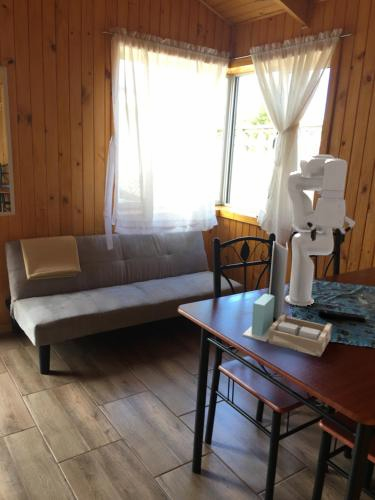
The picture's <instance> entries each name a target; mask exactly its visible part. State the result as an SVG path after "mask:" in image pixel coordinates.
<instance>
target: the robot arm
mask: <svg viewBox="0 0 375 500" xmlns="http://www.w3.org/2000/svg"><path fill="white" fill-rule="evenodd" d="M299 166H300V167H299V168H300V171H299V170H298V171H293V172H291V173H290V174H289V175H288V176H287V184H286V186H287V192H288V195H289V198H290V201H291V203H292V213H293V215H292V216H293V226H294V229H295V230H296V231H298V233H296V234H294V235H293V236H292V239H291V251H292V255H291V256H292V257H291V259H292V260H291V269H290V270H291V271H290V281H289V282H290V283H289V293H288V295H286V296H284V300H285V302H286V303H287V304H289V305H293V306H296V305H297V307H308V306H307V305H310V306H312V305H311V304H313V303H315V300H314V298H313V297H312V288H313V282H314V271H315V265H314V261H313V260H312V258H311V257H310V256H313V255H314V256H328V255H331V254H332V253H333V251H334V248H335V247H334V244H335V242H334V235H333V234H334V233H333V232H334V231H333V229H339V231H340V234H339V241H338V243H339V246H342V245H343V243H345V240H346V234H347V233H348V232H349V231H351V230H352V228H354V226H355V224H356V222H355V221H354V220H353V219H351V218H350V217H348V216H347V215H346V200H345V199H344V195H345V188H346V187H345V186H346V179H347V172H348V171H347V169H348V162H347V160H345V159H342V158H339V157H338V158H337V157H336V158H335V157H334V156H333V155H331V154H316V153H315V154H314V153H311V154H310V153H309V154H307V155H305V156H303V157H302V158H301V160H300V163H299ZM304 191H312V192H315V191H316V194H317V195H319V196H320V197H318V199H317V201H316V204H315V205H316V207H315V209H314V208H313V202H312V200H311V198H310V197H309V196H308V194H307V193H305V192H304ZM346 222H347V223H348V224H349V225H348V226H347V227H345V223H346ZM313 305H314V304H313Z"/></svg>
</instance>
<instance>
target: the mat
mask: <svg viewBox="0 0 375 500" xmlns="http://www.w3.org/2000/svg"><path fill="white" fill-rule="evenodd" d="M273 323H274V322H273ZM273 323H272V324H273ZM269 329H270V328H269ZM269 329H268V330H267V331H266V332H265V333H264V335H263V336H258V335H254V334H251V332H252V325H251V326H250V327H248V329H247V330H246V331H244V333H242V336H243V337H246V338H250V339H254V340H257V341H262V342H265V343H266V342H268V341H269Z"/></svg>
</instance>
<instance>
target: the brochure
mask: <svg viewBox="0 0 375 500" xmlns="http://www.w3.org/2000/svg"><path fill="white" fill-rule="evenodd" d="M272 243H273V244H272V254H271V255H272V256H271V266H270V267H271V268H270V278H269V280H270V281H269V289H268V290H269V292H268V293H269V295H274V296H275V299H274V311H273V318H274V319H275V320H277V319H278V318H279V317H280V316H281V315H282V314H283V313H284V312H283V310H284V300H285V289H286V288H285V287H286V279H287V278H286V277H287V269H288V268H287V266H288V258H289V257H288V256H289V248H288V247H289V246H288V242H287V241H286V242H285V247H284V246H283V245H282V244H279V243H278V242H276V241H274V240H273V242H272Z"/></svg>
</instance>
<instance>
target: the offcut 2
mask: <svg viewBox="0 0 375 500" xmlns="http://www.w3.org/2000/svg"><path fill="white" fill-rule="evenodd" d="M319 334H320V330H316V329H312V328H307V327H303V326H302V328H301V329H300V330H299V336H300V337H304V338H308V339H313V340H318V338H319Z"/></svg>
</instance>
